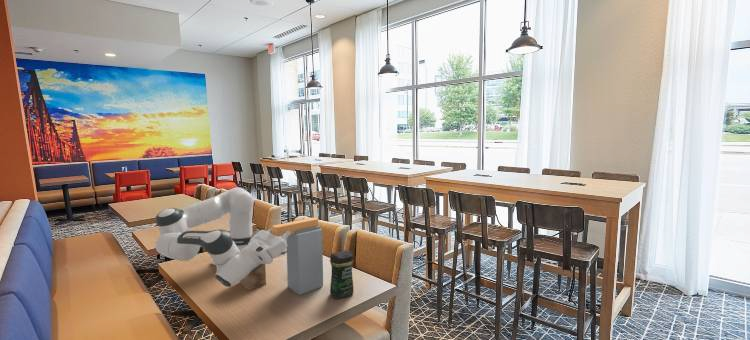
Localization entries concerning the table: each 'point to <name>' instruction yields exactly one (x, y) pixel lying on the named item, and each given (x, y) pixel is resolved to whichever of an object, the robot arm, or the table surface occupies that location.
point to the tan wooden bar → (294, 226)
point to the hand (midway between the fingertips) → (283, 229)
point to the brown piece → (255, 277)
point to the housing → (305, 260)
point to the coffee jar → (341, 274)
